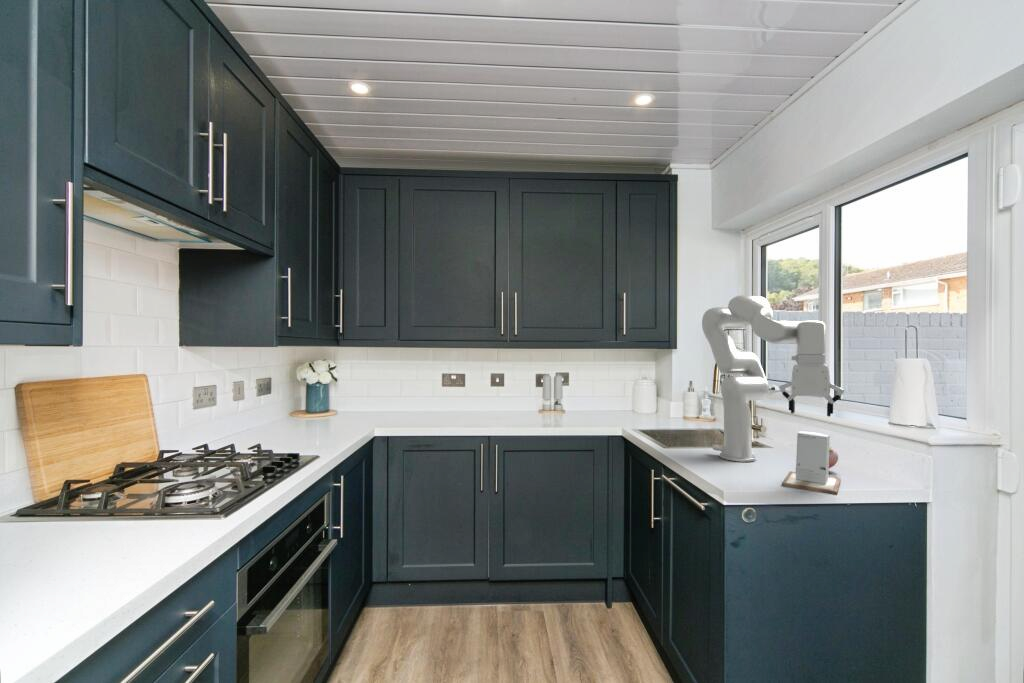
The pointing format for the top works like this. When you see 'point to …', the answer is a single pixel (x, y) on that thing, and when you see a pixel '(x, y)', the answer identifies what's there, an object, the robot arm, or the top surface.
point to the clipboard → (812, 484)
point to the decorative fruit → (832, 457)
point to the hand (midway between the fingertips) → (810, 414)
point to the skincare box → (812, 457)
